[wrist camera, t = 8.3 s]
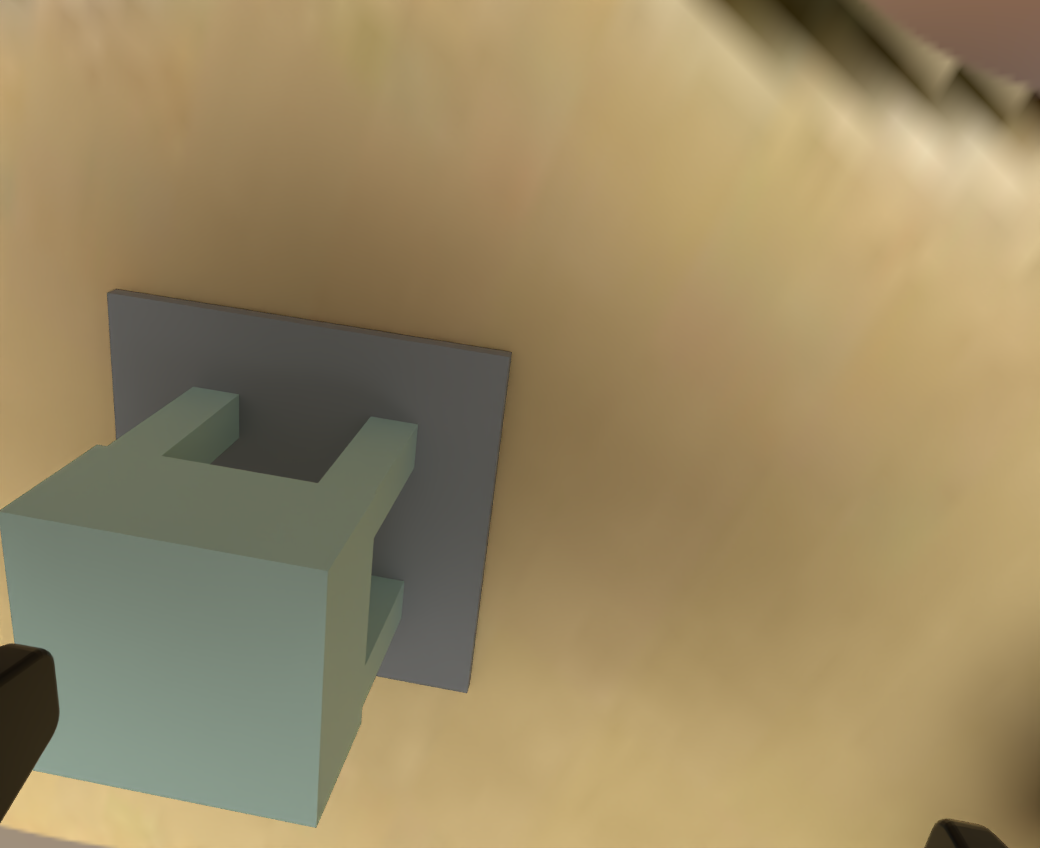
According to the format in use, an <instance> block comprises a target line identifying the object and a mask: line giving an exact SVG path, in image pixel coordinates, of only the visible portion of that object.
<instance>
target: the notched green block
mask: <svg viewBox="0 0 1040 848" xmlns="http://www.w3.org/2000/svg"><path fill="white" fill-rule="evenodd" d="M417 430H418V424H413V423H407V422H401V421H395V420H389V419H383V418H377V417H370V418H369V419H368V421H367V422H366V423H365V424H364V426H363V427H362V428H361V429H360V431H359V432H358V433H357V435H356V436H355V437H354V438H353V440H352V441H351V442H350V443H349V445H348V446H347V447H346V448H345V450H344V451H343V452H342V453H341V455H340V456H339V457H338V459H337V460H336V461H335V462H334V464H333V465H332V466H331V467H330V469H329V470H328V471H327V472H326V474H325V475H324V476H323V477H322V479H321V480H320V481H319V483H315V482H309V481H303V480H297V479H292V478H286V477H280V476H274V475H269V474H263V473H257V472H251V471H246V470H240V469H234V468H228V467H223V466H217V465H211V463H212V462H213V461H214V460H215V459H216V458H217V457H218V456H219V455H221V454H222V453H223V452H224V451H225V450H226V449H227V448H228V447H229V446H231V445H232V444H233V443H234V442H235V441H236V440H237V439H238V438H239V394H234V393H228V392H222V391H216V390H210V389H204V388H198V387H192V388H191V389H189V390H188V391H186V392H185V393H183V394H182V395H181V396H179V397H178V398H176V399H175V400H173V401H172V402H170V403H169V404H167V405H166V406H165V407H163V408H162V409H160V410H159V411H157V412H156V413H154V414H153V415H152V416H150V417H149V418H147V419H146V420H144V421H143V422H141V423H140V424H139V425H137V426H136V427H134V428H133V429H131V430H130V431H128V432H127V433H126V434H124V435H123V436H121V437H120V438H118V439H117V440H115V441H114V442H112V443H111V444H110V445H108V446H102V445H96V446H94V447H93V448H91V449H90V450H88V451H87V452H85V453H84V454H83V455H81V456H80V457H78V458H77V459H75V460H74V461H72V462H71V463H69V464H68V465H66V466H65V467H63V468H62V469H60V470H59V471H57V472H56V473H54V474H53V475H51V476H50V477H48V478H47V479H45V480H44V481H43V482H41V483H40V484H38V485H37V486H35V487H34V488H32V489H31V490H29V491H28V492H26V493H25V494H23V495H22V496H20V497H19V498H17V499H16V500H14V501H13V502H11V503H10V504H8V505H7V506H5V507H4V508H3V509H1V510H0V531H1V539H2V547H3V555H4V563H5V571H6V579H7V586H8V594H9V602H10V610H11V618H12V626H13V634H14V642H15V644H22V645H27V646H33V647H38V648H43V649H45V650H47V651H49V652H50V653H51V655H52V656H53V658H54V663H55V672H56V681H57V690H58V699H59V708H60V714H59V721H58V725H57V728H56V730H55V733H54V735H53V737H52V739H51V740H50V742H49V743H48V745H47V747H46V748H45V750H44V752H43V753H42V755H41V757H40V758H39V760H38V762H37V763H36V765H35V767H34V768H33V771H38V772H43V773H48V774H53V775H58V776H63V777H68V778H73V779H78V780H83V781H88V782H93V783H98V784H103V785H107V786H112V787H117V788H122V789H127V790H132V791H137V792H142V793H147V794H152V795H157V796H162V797H167V798H172V799H177V800H182V801H187V802H191V803H196V804H201V805H206V806H211V807H216V808H221V809H226V810H231V811H236V812H241V813H246V814H251V815H256V816H261V817H266V818H271V819H275V820H280V821H285V822H290V823H295V824H300V825H305V826H310V827H315V828H316V827H317V825H318V823H319V820H320V818H321V816H322V813H323V811H324V809H325V806H326V804H327V802H328V799H329V797H330V795H331V792H332V790H333V788H334V785H335V783H336V781H337V778H338V776H339V774H340V771H341V769H342V767H343V764H344V762H345V760H346V757H347V755H348V753H349V750H350V748H351V746H352V743H353V741H354V739H355V736H356V734H357V732H358V729H359V727H360V725H361V718H362V707H363V704H364V702H365V700H366V698H367V695H368V693H369V691H370V688H371V686H372V684H373V682H374V679H375V677H376V675H377V672H378V670H379V668H380V666H381V663H382V661H383V659H384V656H385V654H386V652H387V650H388V647H389V645H390V643H391V641H392V638H393V636H394V634H395V631H396V629H397V627H398V625H399V622H400V620H401V615H402V604H403V592H404V581H400V580H395V579H389V578H384V577H378V576H373V575H371V573H372V558H373V544H374V537H375V535H376V533H377V532H378V530H379V528H380V527H381V525H382V523H383V521H384V520H385V518H386V516H387V514H388V513H389V511H390V509H391V507H392V506H393V504H394V502H395V500H396V499H397V497H398V495H399V493H400V492H401V490H402V488H403V486H404V485H405V483H406V481H407V479H408V478H409V476H410V474H411V473H412V471H413V469H414V465H415V453H416V442H417Z"/></svg>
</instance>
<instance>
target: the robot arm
mask: <svg viewBox="0 0 1040 848" xmlns="http://www.w3.org/2000/svg"><path fill="white" fill-rule="evenodd" d="M59 714H60V708H59V699H58V690H57V681H56V672H55V663H54V658H53V656H52V655H51V653H50V652H49V651H47V650H45V649H43V648H38V647H33V646H27V645H22V644H6V645H3V646H0V823H1V821H2V819H3V818H4V816H5V814H6V813H7V811H8V810H9V808H10V806H11V805H12V803H13V801H14V800H15V798H16V796H17V795H18V793H19V791H20V790H21V788H22V786H23V785H24V783H25V781H26V780H27V778H28V776H29V775H30V773H31V772H32V770H33V768H34V767H35V765H36V763H37V762H38V760H39V758H40V757H41V755H42V753H43V752H44V750H45V748H46V747H47V745H48V743H49V742H50V740H51V739H52V737H53V735H54V733H55V730H56V728H57V725H58V721H59ZM925 848H1008V847H1007V846H1006V845H1005V844H1004V843H1003V842H1002V841H1001V840H1000V839H999V838H998V837H997V836H996V835H995V834H994V833H992V832H991V831H990V830H989V829H987V828H986V827H984V826H981V825H979V824H974V823H969V822H963V821H958V820H953V819H941V820H939V821H938V822H937V823H936V824H935V825H934V827H933V829H932V831H931V833H930V836H929V838H928V840H927V843H926V845H925Z"/></svg>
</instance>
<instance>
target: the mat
mask: <svg viewBox="0 0 1040 848" xmlns="http://www.w3.org/2000/svg"><path fill="white" fill-rule="evenodd" d="M107 301H108V317H109V332H110V348H111V364H112V380H113V396H114V411H115V427H116V440H117V439H118V438H120V437H121V436H123V435H124V434H126V433H127V432H128V431H130V430H131V429H133V428H134V427H136V426H137V425H139V424H140V423H141V422H143V421H144V420H146V419H147V418H149V417H150V416H152V415H153V414H154V413H156V412H157V411H159V410H160V409H162V408H163V407H165V406H166V405H167V404H169V403H170V402H172V401H173V400H175V399H176V398H178V397H179V396H181V395H182V394H183V393H185V392H186V391H188V390H189V389H191V388H192V387H198V388H204V389H210V390H216V391H222V392H228V393H234V394H239V438H238V439H237V440H236V441H235V442H234V443H233V444H232V445H231V446H229V447H228V448H227V449H226V450H225V451H224V452H223V453H222V454H221V455H219V456H218V457H217V458H216V459H215V460H214V461H213V462H212V463H211V465H217V466H223V467H228V468H234V469H240V470H246V471H251V472H257V473H263V474H269V475H274V476H280V477H286V478H292V479H297V480H303V481H309V482H315V483H319V481H320V480H321V479H322V477H323V476H324V475H325V474H326V472H327V471H328V470H329V469H330V467H331V466H332V465H333V464H334V462H335V461H336V460H337V459H338V457H339V456H340V455H341V453H342V452H343V451H344V450H345V448H346V447H347V446H348V445H349V443H350V442H351V441H352V440H353V438H354V437H355V436H356V435H357V433H358V432H359V431H360V429H361V428H362V427H363V426H364V424H365V423H366V422H367V421H368V419H369V418H370V417H377V418H383V419H389V420H395V421H401V422H407V423H413V424H418V430H417V442H416V453H415V465H414V469H413V471H412V473H411V474H410V476H409V478H408V479H407V481H406V483H405V485H404V486H403V488H402V490H401V492H400V493H399V495H398V497H397V499H396V500H395V502H394V504H393V506H392V507H391V509H390V511H389V513H388V514H387V516H386V518H385V520H384V521H383V523H382V525H381V527H380V528H379V530H378V532H377V533H376V535H375V537H374V544H373V558H372V573H371V575H373V576H378V577H384V578H389V579H395V580H400V581H404V592H403V604H402V615H401V620H400V622H399V625H398V627H397V629H396V631H395V634H394V636H393V638H392V641H391V643H390V645H389V647H388V650H387V652H386V654H385V656H384V659H383V661H382V663H381V666H380V668H379V670H378V672H377V675H376V676H379V677H384V678H389V679H394V680H400V681H405V682H410V683H416V684H421V685H426V686H432V687H437V688H442V689H448V690H453V691H458V692H464V693H467V692H468V688H469V684H470V677H471V669H472V662H473V654H474V646H475V638H476V630H477V622H478V614H479V607H480V599H481V591H482V583H483V575H484V567H485V560H486V552H487V544H488V536H489V528H490V520H491V512H492V505H493V497H494V489H495V481H496V473H497V465H498V457H499V450H500V442H501V434H502V426H503V418H504V410H505V403H506V395H507V387H508V379H509V371H510V363H511V355H512V352H507V351H501V350H495V349H489V348H482V347H476V346H470V345H464V344H457V343H451V342H445V341H438V340H432V339H426V338H420V337H413V336H407V335H401V334H395V333H388V332H382V331H376V330H370V329H363V328H357V327H351V326H344V325H338V324H332V323H326V322H319V321H313V320H307V319H301V318H294V317H288V316H282V315H276V314H269V313H263V312H257V311H250V310H244V309H238V308H232V307H225V306H219V305H213V304H207V303H200V302H194V301H188V300H182V299H175V298H169V297H163V296H156V295H150V294H144V293H138V292H131V291H125V290H119V289H115V290H113V291H110V292H108V293H107Z"/></svg>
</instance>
